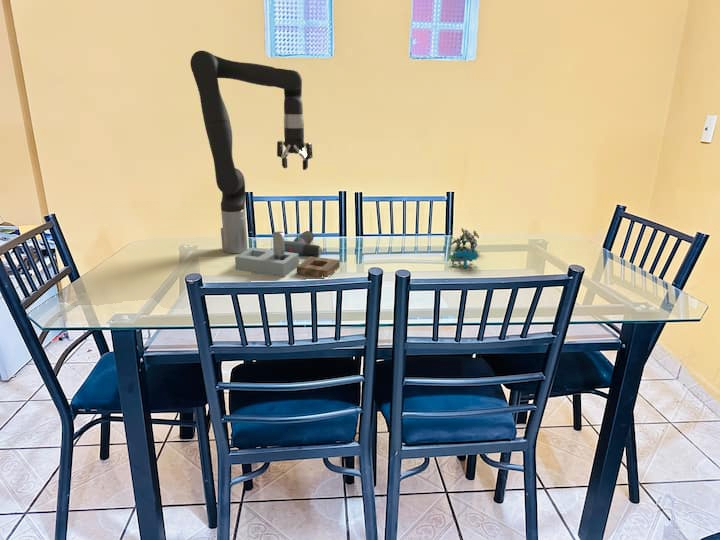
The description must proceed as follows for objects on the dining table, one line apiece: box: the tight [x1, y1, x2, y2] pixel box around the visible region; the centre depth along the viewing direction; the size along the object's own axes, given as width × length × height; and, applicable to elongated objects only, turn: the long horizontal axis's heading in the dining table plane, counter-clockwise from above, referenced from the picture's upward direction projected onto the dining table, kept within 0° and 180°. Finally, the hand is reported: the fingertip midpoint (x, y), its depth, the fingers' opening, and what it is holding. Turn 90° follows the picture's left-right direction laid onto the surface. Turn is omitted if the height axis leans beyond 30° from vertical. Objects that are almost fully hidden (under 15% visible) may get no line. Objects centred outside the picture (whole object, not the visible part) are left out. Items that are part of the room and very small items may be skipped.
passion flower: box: [450, 227, 480, 252], centre depth 206 cm, size 11×11×12 cm
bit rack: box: [234, 246, 300, 278], centre depth 183 cm, size 20×12×5 cm, turn 71°
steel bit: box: [272, 231, 285, 260], centre depth 180 cm, size 4×4×14 cm
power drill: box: [284, 230, 324, 257], centre depth 205 cm, size 5×19×20 cm
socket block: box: [296, 255, 341, 278], centre depth 181 cm, size 12×12×3 cm
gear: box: [448, 248, 479, 269], centre depth 188 cm, size 11×6×10 cm
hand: (295, 168), depth 194 cm, fingers open, 8 cm apart
